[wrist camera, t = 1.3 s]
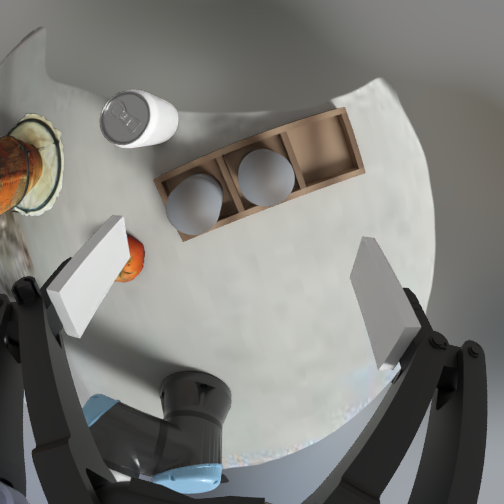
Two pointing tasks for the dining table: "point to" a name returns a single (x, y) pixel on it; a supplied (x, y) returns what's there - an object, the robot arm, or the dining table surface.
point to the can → (138, 119)
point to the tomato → (132, 261)
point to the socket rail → (294, 143)
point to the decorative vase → (30, 166)
